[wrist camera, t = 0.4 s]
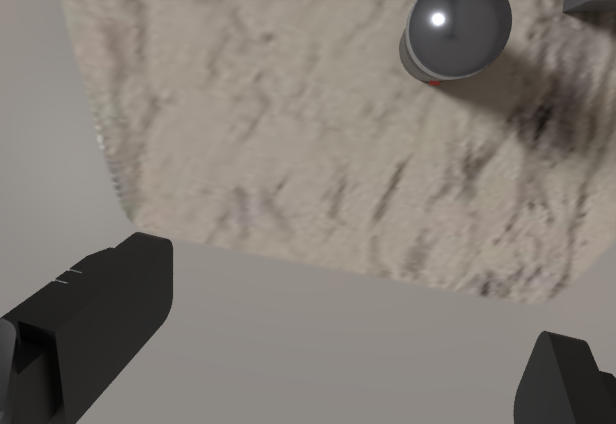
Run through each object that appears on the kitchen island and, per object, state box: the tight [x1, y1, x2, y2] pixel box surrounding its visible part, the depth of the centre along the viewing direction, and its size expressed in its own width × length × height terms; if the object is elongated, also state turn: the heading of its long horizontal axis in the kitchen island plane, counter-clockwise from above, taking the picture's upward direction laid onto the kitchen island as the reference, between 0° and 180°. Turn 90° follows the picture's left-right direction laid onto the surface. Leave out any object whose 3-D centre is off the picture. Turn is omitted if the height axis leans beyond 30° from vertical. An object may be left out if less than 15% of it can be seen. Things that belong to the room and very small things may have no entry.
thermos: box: [399, 0, 512, 85], centre depth 28 cm, size 5×5×11 cm
